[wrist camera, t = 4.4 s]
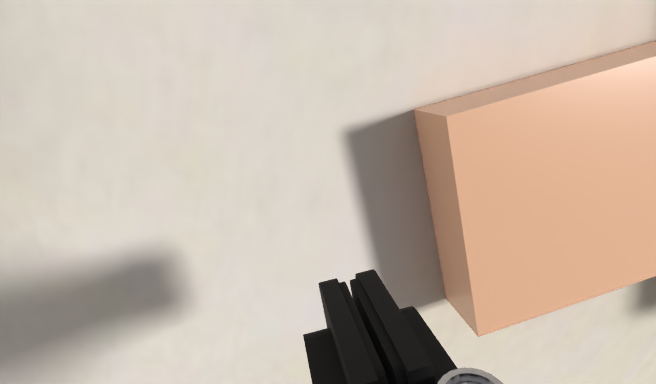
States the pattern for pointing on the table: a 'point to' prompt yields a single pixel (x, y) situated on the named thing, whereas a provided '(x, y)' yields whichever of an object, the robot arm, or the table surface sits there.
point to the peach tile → (544, 188)
